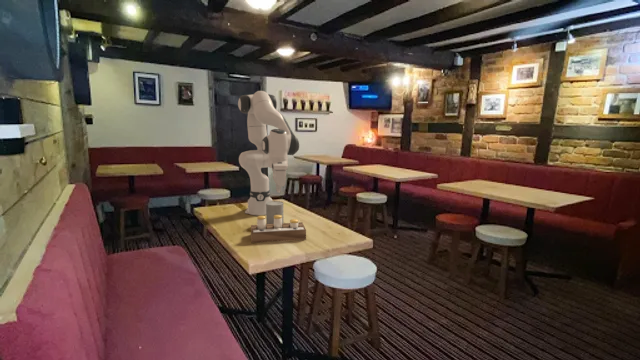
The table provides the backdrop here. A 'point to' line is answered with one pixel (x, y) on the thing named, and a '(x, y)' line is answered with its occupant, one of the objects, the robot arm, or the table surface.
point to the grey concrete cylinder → (273, 211)
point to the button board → (277, 234)
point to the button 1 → (261, 222)
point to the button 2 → (293, 223)
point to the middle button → (277, 221)
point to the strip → (278, 229)
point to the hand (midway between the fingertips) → (278, 192)
